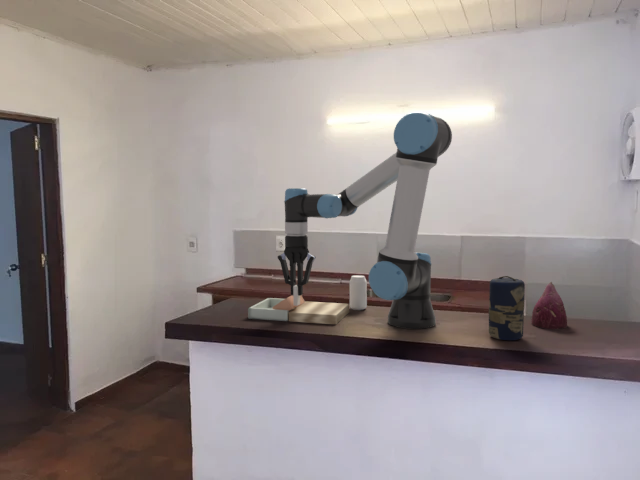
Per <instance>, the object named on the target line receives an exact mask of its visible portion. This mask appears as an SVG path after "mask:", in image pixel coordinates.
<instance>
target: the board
mask: <svg viewBox="0 0 640 480" xmlns="http://www.w3.org/2000/svg"><path fill="white" fill-rule="evenodd" d="M349 313H350V303H341V302H338V303H337V302H324V301H323V302H320V301H308V300H307V301H305V302H304V303H303V304H301V305H300V306H298V307H296V308H295V309H293V310H292V311H290V312H289V321H288V322H295V323H309V324H323V325H337V324H338V323H339V322H341V321H342V319H344V317H346V316H347V315H348V314H349Z"/></svg>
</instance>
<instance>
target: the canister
mask: <svg viewBox="0 0 640 480" xmlns="http://www.w3.org/2000/svg"><path fill="white" fill-rule="evenodd" d="M525 285H526V284H525V282H524V281H523V280H522V279H520V278H519V279H518V278H515V277H512V276H508V275H504V276H499V277H497V278H493V279H491V280H490V281H489V296H488V297H489V298H488V301H489V304H488V334H489V336H491V337H492V338H494V339H496V340H503V341H517V340H518V341H519V340H520V339H522V338H523V336H524V324H525V323H524V321H525V320H524V319H525V318H524V317H525V313H524V312H525V291H526V290H525V288H526V287H525Z"/></svg>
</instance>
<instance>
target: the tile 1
mask: <svg viewBox="0 0 640 480" xmlns="http://www.w3.org/2000/svg"><path fill="white" fill-rule="evenodd" d="M283 299H284V300H283V301H281V302H280V303H278V304H277V305H275V306H274V307H272V308H273V309H280V310H288V311H290V310H291V309H293V308H294V307H296V306H294V305H293V295H291V294H290V296H288V297H286V298H283Z"/></svg>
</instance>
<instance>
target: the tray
mask: <svg viewBox="0 0 640 480" xmlns="http://www.w3.org/2000/svg"><path fill="white" fill-rule="evenodd" d="M284 299H285V298H277V297H274V298H273V297H267V298H266V299H263V300H261V301H260V302H257V303H256V304H254V305H252V306H250V307H248V308H247V314H248V315H247V317H248V319H250V320H251V319H252V320H265V321H280V322H281V321H282V322H290V321H289V312H290V311H292V310H293V309H295V308H296V307H295V308H293V309H291V310H290V311H288V310H280V309H273V308H272V307H274V306H275V305H277V304H278V303H280V302H281V301H283V300H284Z"/></svg>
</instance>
